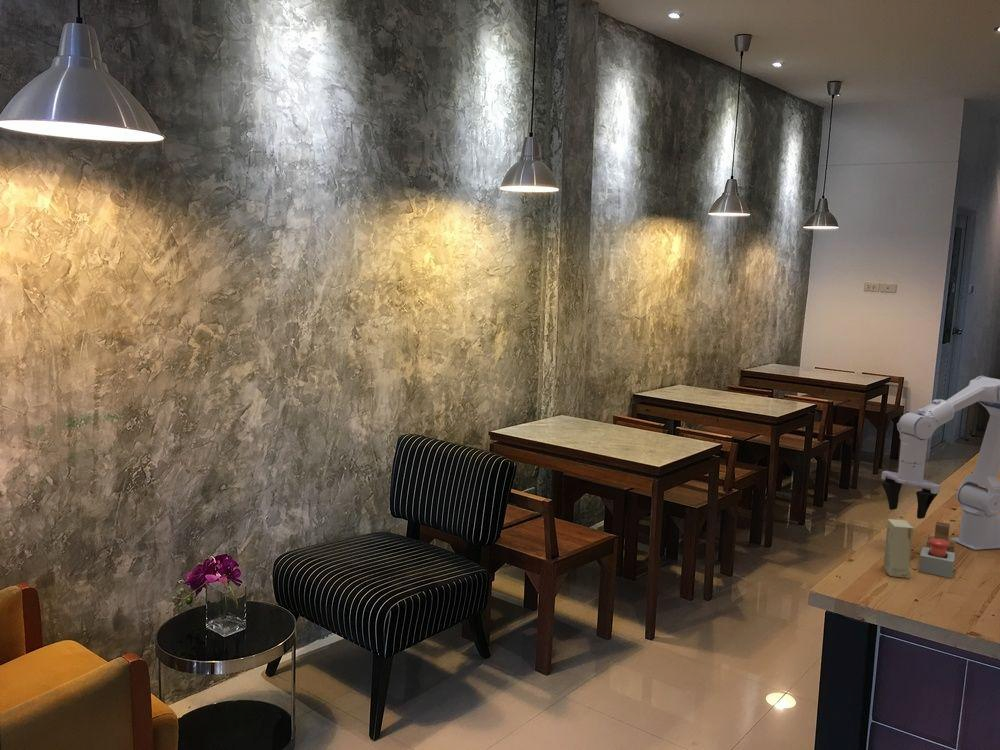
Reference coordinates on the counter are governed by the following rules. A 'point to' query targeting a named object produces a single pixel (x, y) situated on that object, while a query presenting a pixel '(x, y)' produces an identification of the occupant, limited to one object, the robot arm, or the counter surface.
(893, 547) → the skincare box
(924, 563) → the grey rectangular block
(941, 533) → the carriage
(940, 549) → the plunger
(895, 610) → the counter surface
